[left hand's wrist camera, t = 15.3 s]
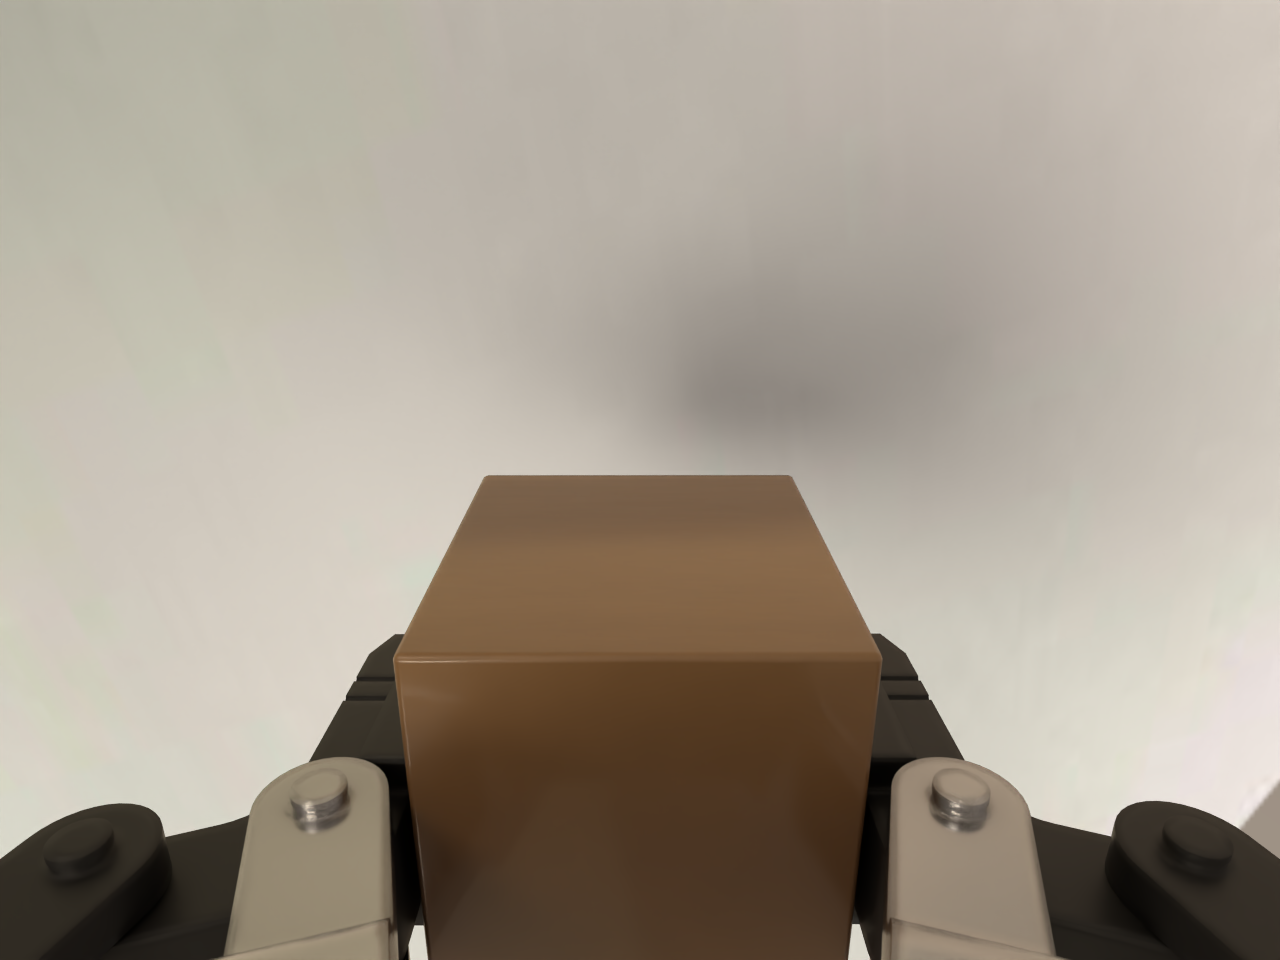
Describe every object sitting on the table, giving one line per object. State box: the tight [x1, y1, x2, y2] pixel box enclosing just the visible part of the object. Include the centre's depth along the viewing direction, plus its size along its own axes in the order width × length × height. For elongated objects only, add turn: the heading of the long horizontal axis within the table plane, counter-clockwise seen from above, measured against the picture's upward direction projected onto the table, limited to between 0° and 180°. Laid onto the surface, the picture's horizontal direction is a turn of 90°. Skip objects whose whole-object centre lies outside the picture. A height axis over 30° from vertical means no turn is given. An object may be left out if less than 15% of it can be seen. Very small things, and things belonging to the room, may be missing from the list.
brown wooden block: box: [393, 475, 882, 960], centre depth 10 cm, size 5×4×5 cm
